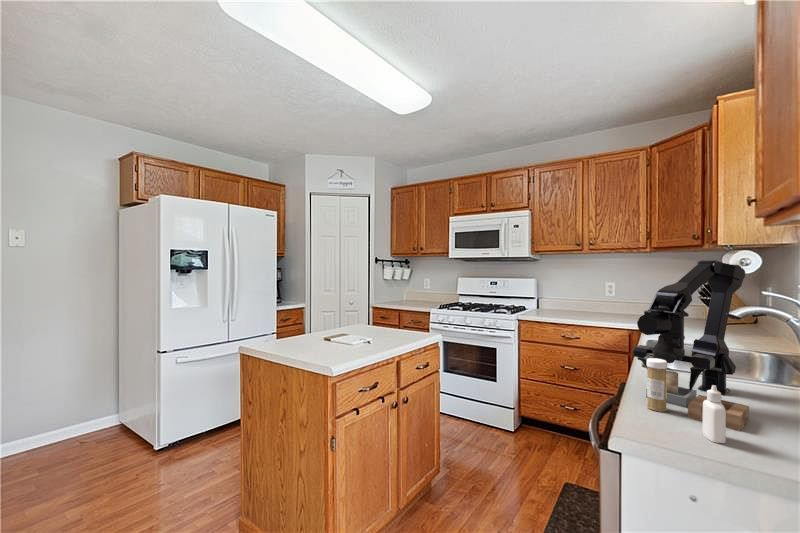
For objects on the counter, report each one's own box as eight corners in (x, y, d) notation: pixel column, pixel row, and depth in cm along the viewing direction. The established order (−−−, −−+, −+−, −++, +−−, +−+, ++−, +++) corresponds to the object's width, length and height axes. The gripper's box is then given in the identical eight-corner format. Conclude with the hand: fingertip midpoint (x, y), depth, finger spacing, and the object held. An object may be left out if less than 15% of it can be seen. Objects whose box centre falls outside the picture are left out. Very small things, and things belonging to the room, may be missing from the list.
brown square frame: (699, 407, 102) (699, 394, 102) (748, 419, 94) (748, 405, 94) (688, 417, 96) (688, 403, 96) (740, 431, 88) (740, 416, 88)
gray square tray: (657, 390, 115) (657, 381, 115) (696, 399, 108) (696, 390, 108) (646, 397, 109) (646, 388, 109) (686, 407, 102) (686, 398, 102)
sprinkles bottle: (669, 409, 101) (670, 360, 100) (662, 413, 98) (662, 362, 98) (650, 404, 104) (651, 356, 104) (643, 408, 102) (643, 359, 102)
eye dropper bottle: (728, 437, 85) (728, 385, 85) (724, 445, 81) (725, 391, 81) (703, 431, 88) (703, 380, 88) (699, 438, 84) (699, 386, 84)
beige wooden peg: (662, 396, 109) (663, 372, 109) (666, 393, 111) (666, 370, 111) (676, 399, 106) (676, 374, 106) (679, 396, 108) (679, 372, 108)
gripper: (625, 331, 111) (624, 383, 111) (704, 341, 96) (703, 402, 96) (639, 326, 118) (639, 375, 118) (715, 336, 103) (715, 392, 103)
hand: (671, 385), depth 109 cm, fingers open, 9 cm apart
